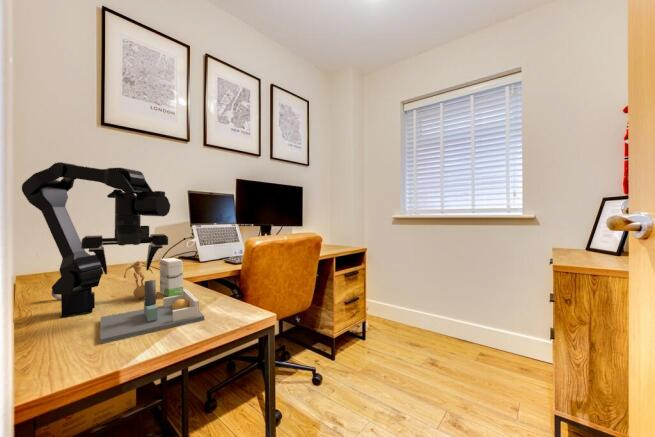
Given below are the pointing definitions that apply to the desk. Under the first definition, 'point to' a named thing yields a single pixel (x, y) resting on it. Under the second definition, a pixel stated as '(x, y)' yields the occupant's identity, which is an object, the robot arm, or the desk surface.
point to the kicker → (150, 300)
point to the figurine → (140, 290)
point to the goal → (184, 312)
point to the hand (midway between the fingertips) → (127, 272)
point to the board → (139, 323)
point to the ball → (180, 304)
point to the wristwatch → (55, 296)
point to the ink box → (171, 277)
